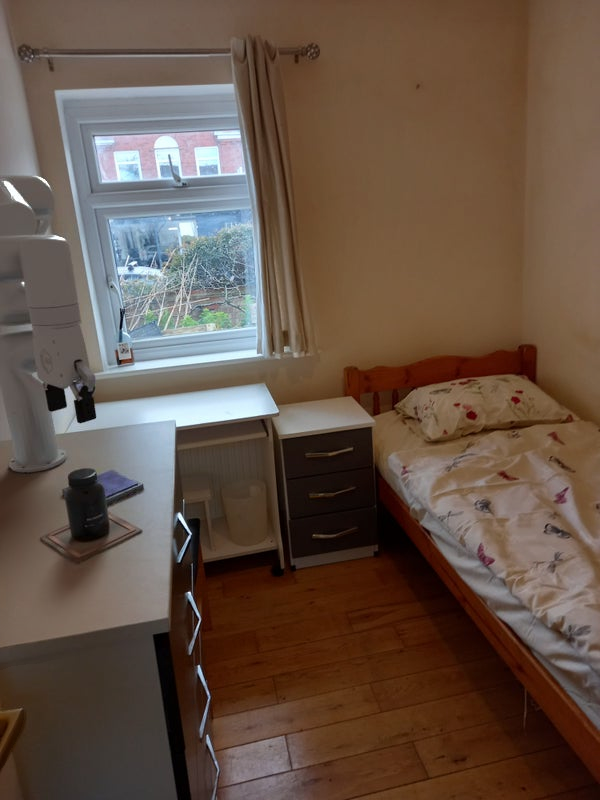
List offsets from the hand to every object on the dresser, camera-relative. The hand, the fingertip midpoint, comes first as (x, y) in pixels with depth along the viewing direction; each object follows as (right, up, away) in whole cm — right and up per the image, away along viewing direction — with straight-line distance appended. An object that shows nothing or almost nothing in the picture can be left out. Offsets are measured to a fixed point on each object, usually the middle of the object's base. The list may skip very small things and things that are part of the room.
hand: (72, 414), depth 97 cm
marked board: (+1, -22, +7) cm, 23 cm away
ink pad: (-3, -17, +23) cm, 29 cm away
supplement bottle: (+1, -22, +7) cm, 23 cm away
